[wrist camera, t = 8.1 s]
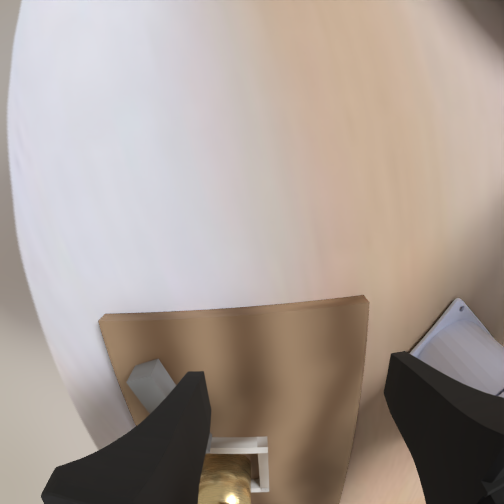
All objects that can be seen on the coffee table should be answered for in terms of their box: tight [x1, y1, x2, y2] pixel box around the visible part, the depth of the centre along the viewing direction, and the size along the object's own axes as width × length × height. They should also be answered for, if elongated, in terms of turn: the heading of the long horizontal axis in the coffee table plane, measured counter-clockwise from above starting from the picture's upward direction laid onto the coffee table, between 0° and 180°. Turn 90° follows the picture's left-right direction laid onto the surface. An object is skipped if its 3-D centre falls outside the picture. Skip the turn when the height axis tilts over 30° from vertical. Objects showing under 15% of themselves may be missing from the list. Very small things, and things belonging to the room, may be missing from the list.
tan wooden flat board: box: [98, 295, 369, 504], centre depth 22 cm, size 18×28×4 cm, turn 5°
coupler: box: [198, 453, 251, 504], centre depth 20 cm, size 5×4×7 cm
